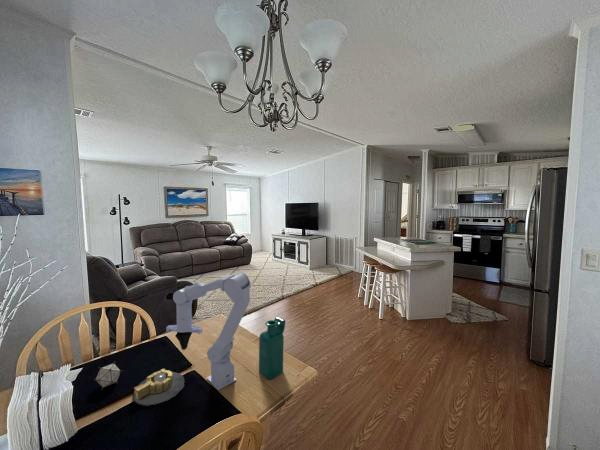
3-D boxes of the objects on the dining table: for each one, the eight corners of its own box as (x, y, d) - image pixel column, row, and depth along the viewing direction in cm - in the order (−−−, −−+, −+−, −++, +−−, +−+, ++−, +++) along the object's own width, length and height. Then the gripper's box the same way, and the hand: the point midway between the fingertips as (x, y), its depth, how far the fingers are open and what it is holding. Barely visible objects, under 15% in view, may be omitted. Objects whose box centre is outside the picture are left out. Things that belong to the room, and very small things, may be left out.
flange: (192, 388, 98) (191, 376, 98) (141, 414, 86) (141, 400, 86) (174, 368, 110) (174, 357, 110) (127, 388, 98) (127, 376, 97)
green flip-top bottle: (269, 381, 104) (270, 328, 102) (256, 371, 109) (257, 321, 108) (287, 370, 111) (288, 321, 109) (274, 362, 116) (275, 314, 115)
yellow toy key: (142, 403, 89) (142, 393, 88) (130, 393, 93) (130, 383, 93) (177, 383, 99) (177, 374, 99) (164, 374, 104) (164, 365, 104)
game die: (111, 390, 102) (123, 362, 107) (117, 392, 96) (130, 362, 102) (85, 388, 97) (99, 358, 102) (90, 390, 91) (105, 359, 97)
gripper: (205, 313, 110) (205, 344, 111) (172, 312, 111) (173, 342, 113) (197, 321, 103) (197, 353, 104) (163, 319, 104) (163, 351, 105)
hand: (184, 348), depth 108 cm, fingers closed
